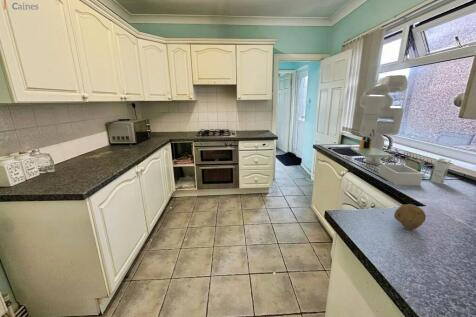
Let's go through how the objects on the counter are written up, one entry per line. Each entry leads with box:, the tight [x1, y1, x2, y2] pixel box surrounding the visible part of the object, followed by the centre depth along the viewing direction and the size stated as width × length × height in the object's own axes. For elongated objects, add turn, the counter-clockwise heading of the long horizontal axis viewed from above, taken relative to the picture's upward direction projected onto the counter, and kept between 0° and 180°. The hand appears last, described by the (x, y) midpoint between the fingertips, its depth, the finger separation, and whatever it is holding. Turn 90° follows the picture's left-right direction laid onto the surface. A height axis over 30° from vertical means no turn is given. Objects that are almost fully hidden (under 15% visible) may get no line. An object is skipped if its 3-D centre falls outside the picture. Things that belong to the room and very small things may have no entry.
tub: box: [378, 163, 424, 186], centre depth 126 cm, size 16×14×8 cm
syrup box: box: [428, 157, 452, 185], centre depth 122 cm, size 6×6×14 cm
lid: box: [350, 139, 394, 159], centre depth 122 cm, size 17×15×7 cm
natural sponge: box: [394, 203, 427, 230], centre depth 81 cm, size 9×9×10 cm
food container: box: [404, 156, 426, 173], centre depth 137 cm, size 12×6×10 cm, turn 179°
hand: (365, 147), depth 129 cm, fingers closed on lid
